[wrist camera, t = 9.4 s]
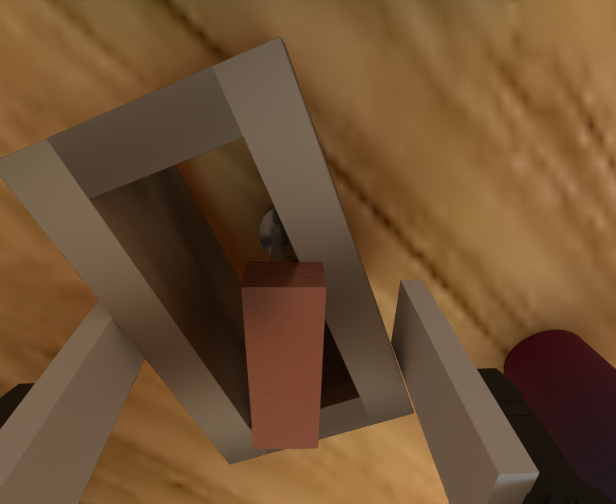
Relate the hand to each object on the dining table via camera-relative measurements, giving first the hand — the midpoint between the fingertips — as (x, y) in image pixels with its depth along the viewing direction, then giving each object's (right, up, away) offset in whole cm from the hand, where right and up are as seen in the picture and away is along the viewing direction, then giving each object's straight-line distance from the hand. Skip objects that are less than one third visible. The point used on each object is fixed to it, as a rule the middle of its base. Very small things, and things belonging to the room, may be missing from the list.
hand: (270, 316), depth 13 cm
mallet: (0, +3, +6) cm, 7 cm away
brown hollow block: (-1, +3, +3) cm, 5 cm away
